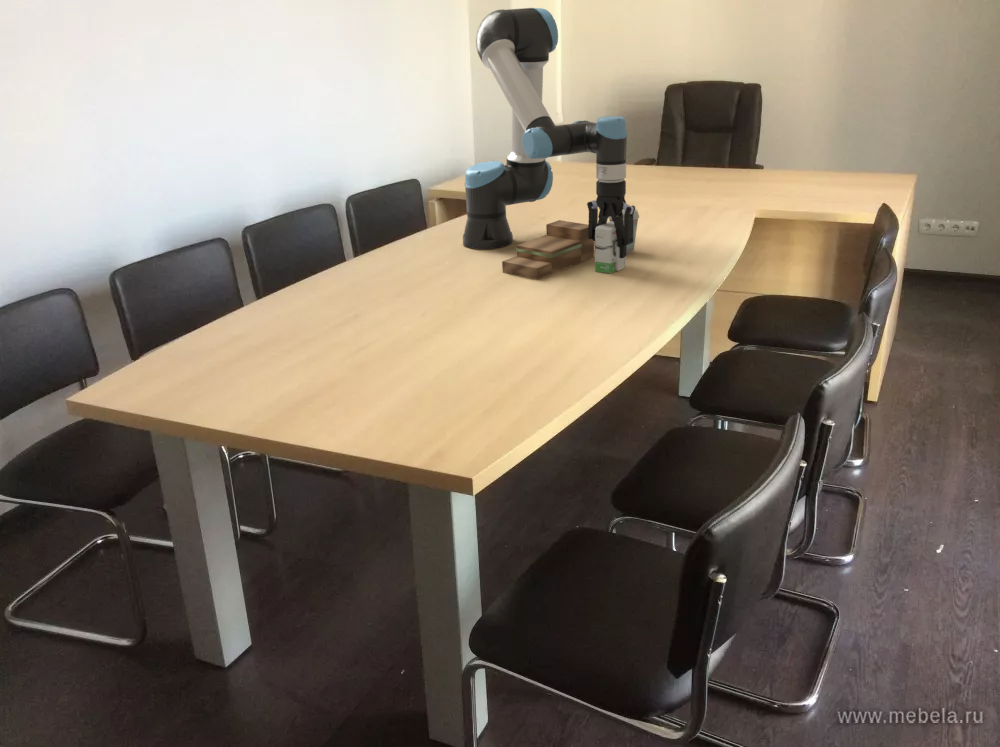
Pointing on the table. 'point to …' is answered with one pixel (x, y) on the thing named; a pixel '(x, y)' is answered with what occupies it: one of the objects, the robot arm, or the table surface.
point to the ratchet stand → (551, 251)
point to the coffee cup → (635, 220)
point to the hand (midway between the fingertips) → (610, 267)
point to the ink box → (606, 248)
